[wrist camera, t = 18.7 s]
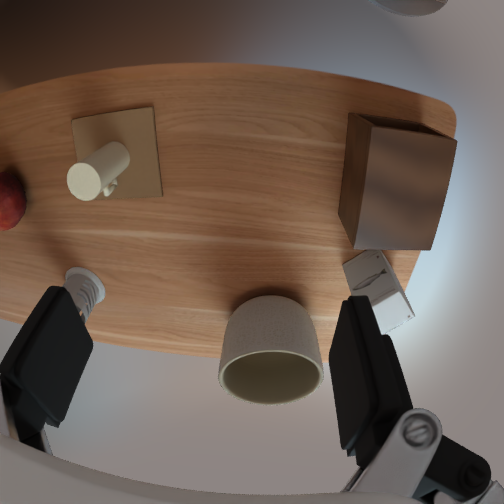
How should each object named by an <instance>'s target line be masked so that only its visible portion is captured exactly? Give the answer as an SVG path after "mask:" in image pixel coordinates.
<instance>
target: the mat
mask: <svg viewBox="0 0 504 504" xmlns="http://www.w3.org/2000/svg"><path fill="white" fill-rule="evenodd" d="M71 124H72V131H73V137H74V143H75V149H76V155H77V160H78V162H79V161H80V160H82V159H83V158H85V157H86V156H88V155H89V154H91V153H92V152H94V151H95V150H97V149H99V148H100V147H102V146H103V145H105V144H107V143H109V142H113V141H114V142H119V143H121V144H123V145H124V146H125V147H126V148H127V150H128V152H129V156H130V162H129V165H128V167H127V168H126V170H125V171H123V172H122V173H121V174H120V175H119V176H118V177H117V184H118V186H117V188H116V189H115V190H114V191H113V192H112V193H111V194H110V195H109V196H107V197H106V196H104V193H103V191H102V192H101V193H100V194H99V195H98V196H97V197H95V198H94V199H92V200H106V199H125V198H148V197H163V190H162V182H161V174H160V166H159V157H158V148H157V138H156V127H155V116H154V106H153V107H144V108H136V109H129V110H122V111H116V112H109V113H103V114H98V115H92V116H87V117H82V118H77V119H73V120H71ZM111 185H112V183H110V184H109V185H108V187H110V186H111ZM89 201H90V200H89Z"/></svg>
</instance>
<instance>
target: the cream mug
mask: <svg viewBox="0 0 504 504" xmlns="http://www.w3.org/2000/svg"><path fill="white" fill-rule="evenodd" d="M129 162H130V156H129V152H128V150H127V148H126V147H125V146H124V145H123V144H121V143H119V142H114V141H113V142H109V143H107V144H105V145H103V146H102V147H100V148H99V149H97V150H95V151H94V152H92V153H91V154H89V155H88V156H86V157H85V158H83V159H82V160H80V161H79V162H77V163H76V164H74V165H73V166H72V167H71V168H70V169H69V171H68V174H67V184H68V187H69V189H70V191H71V192H72V194H73V195H74V196H75V197H77V198H78V199H80V200H84V201H89V200H92V199H94V198H95V197H97V196H98V195H99V194H100V193H101V192H102V191H103V193H104V196H106V197H107V196H109V195H110V194H111V193H112V192H113V191H114V190H115V189H116V188H117V186H118V184H117V177H118V176H119V175H120V174H121V173H122V172H123V171H125V170H126V168H127V167H128V165H129ZM110 183H112V185H111V186H110V187H108V185H109V184H110Z"/></svg>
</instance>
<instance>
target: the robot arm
mask: <svg viewBox="0 0 504 504" xmlns="http://www.w3.org/2000/svg"><path fill="white" fill-rule="evenodd" d="M92 349H93V341H92V339H91V337H90V335H89V333H88V331H87V329H86V327H85V325H84V323H83V320H82V318H81V316H80V314H79V312H78V310H77V308H76V305H75V303H74V301H73V299H72V296H71V294H70V292H68V291H67V289H66V288H65V287H60V286H50V287H49V288H48V289H47V291H46V292H45V293H44V295H43V296H42V298H41V299H40V301H39V302H38V304H37V305H36V307H35V308H34V310H33V311H32V313H31V314H30V316H29V317H28V319H27V320H26V322H25V323H24V325H23V326H22V328H21V330H20V332H19V333H18V335H17V336H16V338H15V339H14V341H13V343H12V345H11V346H10V348H9V350H8V351H7V353H6V355H5V356H4V358H3V360H2V362H1V364H0V373H1V374H0V504H504V488H503V487H502V486H501V485H500V484H499V483H498V481H494V482H493V481H492V480H491V470H490V466H489V464H488V463H487V461H486V460H485V459H483V458H482V457H481V456H479V455H477V454H475V453H474V452H471V451H470V450H468V449H466V448H465V447H463V446H461V445H459V444H458V443H456V442H454V441H453V440H451V439H449V438H447V437H446V436H444V435H442V425H441V423H440V420H439V419H438V418H437V416H436V415H435V414H433V413H432V412H430V411H429V410H426V409H421V408H415V409H413V405H412V402H411V399H410V395H409V392H408V388H407V385H406V382H405V379H404V376H403V372H402V369H401V366H400V363H399V360H398V357H397V354H396V351H395V348H394V345H393V342H392V340H391V338H390V336H389V335H386V334H385V335H381V332H380V329H379V326H378V323H377V320H376V317H375V314H374V311H373V309H372V306H371V303H370V300H369V298H368V296H367V295H360V296H349V298H348V300H344V301H343V302H342V306H341V310H340V314H339V318H338V322H337V326H336V330H335V333H334V337H333V341H332V345H331V348H330V352H329V366H330V373H331V379H332V385H333V392H334V399H335V406H336V413H337V420H338V428H339V435H340V443H341V448H342V449H343V450H345V449H347V456H356V462H357V465H358V466H359V467H358V469H357V470H356V472H355V473H354V474H353V476H352V477H351V478H350V480H349V481H348V482H347V484H346V485H345V486H344V487H343V489H342V490H341V491H340V492H339V493H319V494H304V495H303V494H301V495H245V494H226V493H213V492H203V491H195V490H187V489H179V488H173V487H167V486H161V485H155V484H150V483H145V482H140V481H135V480H131V479H127V478H123V477H119V476H115V475H111V474H107V473H104V472H100V471H97V470H93V469H90V468H87V467H84V466H80V465H78V464H75V463H71V462H69V461H66V460H63V459H60V458H58V457H55V456H53V454H52V451H51V448H50V445H49V442H48V439H47V436H46V433H45V430H44V424H45V422H46V423H47V424H48V425H51V426H54V427H57V428H58V427H59V425H60V422H62V421H63V420H64V418H65V416H66V413H67V410H68V408H69V405H70V402H71V400H72V397H73V395H74V392H75V390H76V387H77V385H78V383H79V380H80V378H81V375H82V373H83V370H84V368H85V366H86V363H87V361H88V359H89V357H90V354H91V352H92Z"/></svg>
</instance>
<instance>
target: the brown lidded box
mask: <svg viewBox="0 0 504 504" xmlns="http://www.w3.org/2000/svg"><path fill="white" fill-rule="evenodd" d="M456 147H457V140H455V139H453V138H451V137H449V136H447V135H445V134H443V133H441V132H439V131H437V130H435V129H433V128H431V127H429V126H427V125H425V124H423V123H417V122H412V121H406V120H400V119H394V118H387V117H380V116H372V115H364V114H355V113H349V116H348V129H347V140H346V151H345V161H344V171H343V179H342V188H341V196H340V204H339V211H338V215H339V217H340V219H341V222H342V224H343V226H344V228H345V231H346V233H347V235H348V237H349V240H350V242H351V244H352V247H353V249H369V250H431V247H432V244H433V240H434V238H435V234H436V231H437V227H438V224H439V220H440V217H441V213H442V209H443V206H444V202H445V198H446V194H447V190H448V186H449V181H450V177H451V172H452V167H453V162H454V157H455V151H456Z"/></svg>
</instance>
